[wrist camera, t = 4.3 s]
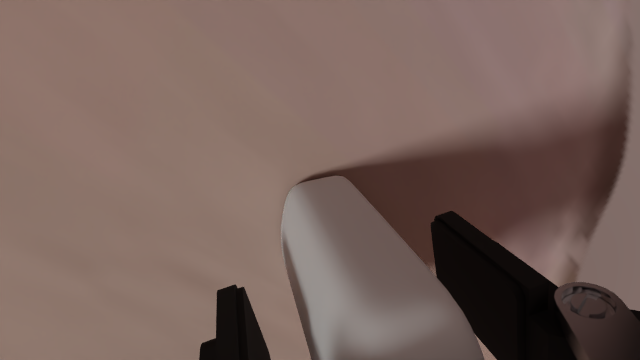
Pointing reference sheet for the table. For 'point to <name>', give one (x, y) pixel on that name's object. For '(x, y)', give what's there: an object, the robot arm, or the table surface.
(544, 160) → the table surface
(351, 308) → the eye dropper bottle
